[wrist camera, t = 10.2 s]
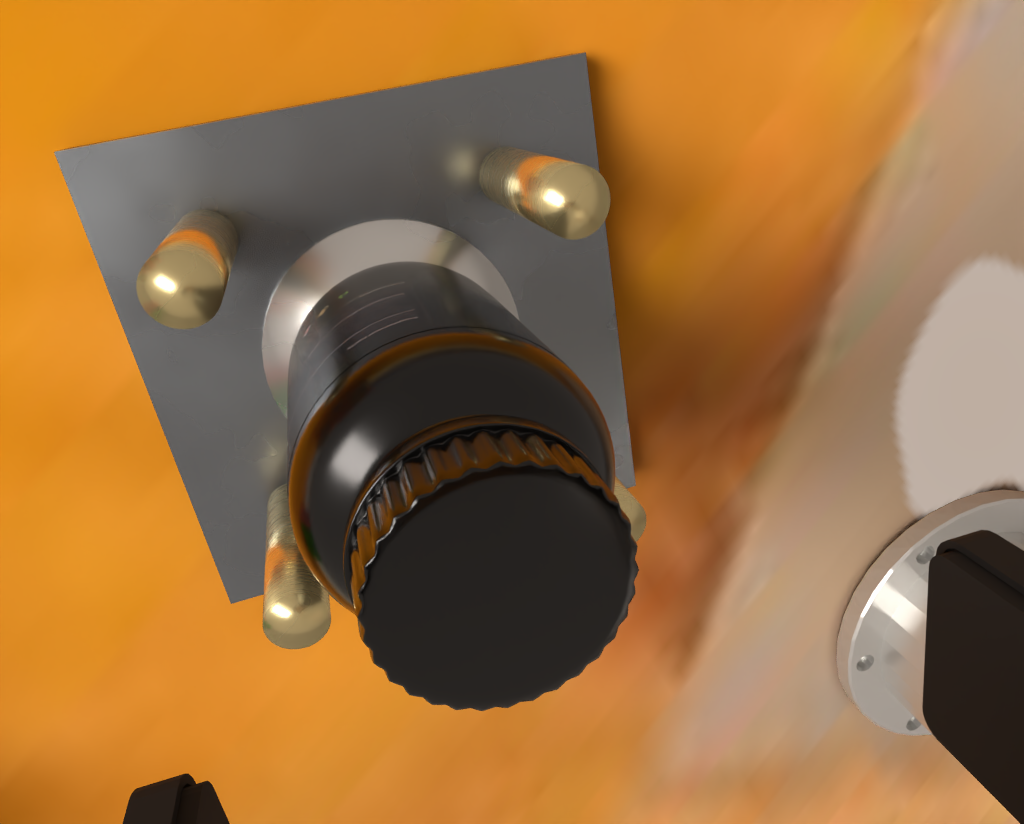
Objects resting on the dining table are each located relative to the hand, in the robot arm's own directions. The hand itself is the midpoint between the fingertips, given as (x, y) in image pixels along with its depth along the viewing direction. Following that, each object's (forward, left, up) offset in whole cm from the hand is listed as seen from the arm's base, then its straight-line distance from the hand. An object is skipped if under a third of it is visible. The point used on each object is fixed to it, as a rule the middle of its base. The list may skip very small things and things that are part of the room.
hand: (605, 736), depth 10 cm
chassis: (+1, 0, -17) cm, 17 cm away
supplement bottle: (0, 0, -16) cm, 16 cm away
